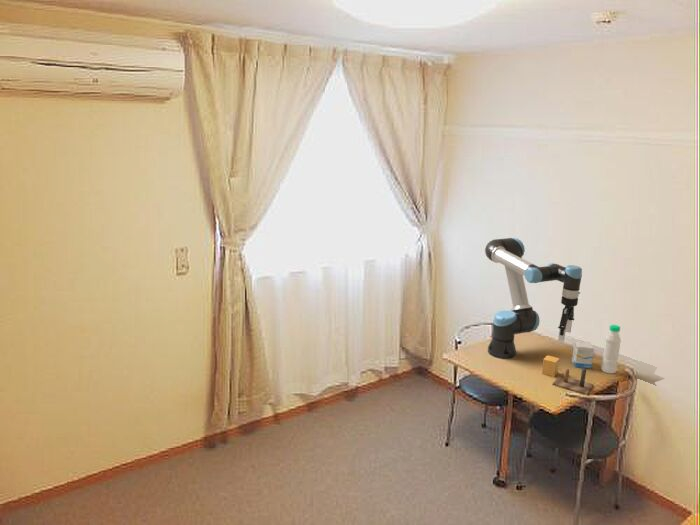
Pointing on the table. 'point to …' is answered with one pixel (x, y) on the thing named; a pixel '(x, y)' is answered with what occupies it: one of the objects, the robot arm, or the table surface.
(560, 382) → the pigtail board
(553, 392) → the table surface
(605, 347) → the water bottle
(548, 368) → the orange rectangular block
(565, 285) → the robot arm
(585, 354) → the ink box
